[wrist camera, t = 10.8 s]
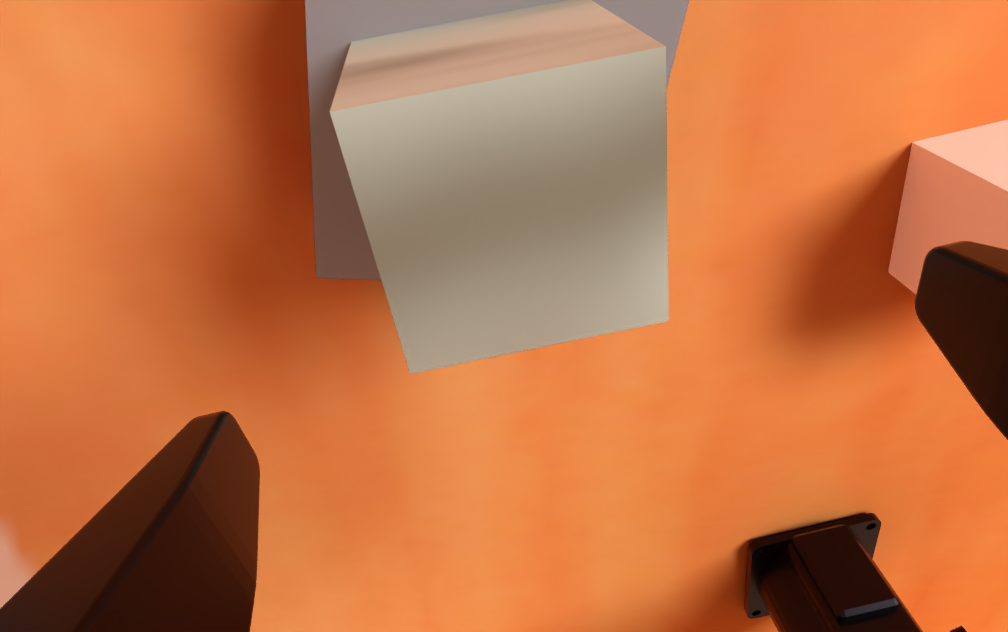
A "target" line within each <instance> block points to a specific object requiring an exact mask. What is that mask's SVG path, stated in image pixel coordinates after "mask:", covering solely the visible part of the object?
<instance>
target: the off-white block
mask: <svg viewBox="0 0 1008 632" xmlns="http://www.w3.org/2000/svg"><path fill="white" fill-rule="evenodd" d="M959 241H971V242H976V243H980V244H985V245H989V246H994V247H998V248H1003V249H1007V250H1008V120H1004V121H1000V122H996V123H992V124H987V125H983V126H979V127H975V128H970V129H966V130H962V131H958V132H954V133H949V134H945V135H941V136H937V137H932V138H928V139H924V140H920V141H915V142H912V146H911V152H910V157H909V163H908V168H907V173H906V179H905V184H904V190H903V195H902V200H901V206H900V211H899V216H898V222H897V227H896V233H895V238H894V243H893V249H892V254H891V259H890V265H889V270H888V273H889V274H891V275H892V276H893V277H894V278H896V279H897V280H898V281H899V282H901V283H902V284H903V285H904V286H906V287H907V288H908V289H909V290H911V291H912V292H913V293H914V294H916V293H917V289H918V285H919V280H920V276H921V272H922V267H923V263H924V259H925V256H926V255H927V253H928V252H929V251H930V250H931V249H933V248H934V247H937V246H941V245H946V244H950V243H954V242H959Z"/></svg>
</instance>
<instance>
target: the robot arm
mask: <svg viewBox="0 0 1008 632" xmlns="http://www.w3.org/2000/svg"><path fill="white" fill-rule="evenodd" d="M915 309H916V313H917V316H918V318H919V320H920V322H921V323H922V325H923V326H924V327H925V329H926V330H927V332H928V333H929V335H930V336H931V337H932V339H933V340H934V342H935V343H936V345H937V346H938V347H939V349H940V350H941V352H942V353H943V355H944V356H945V357H946V359H947V360H948V362H949V363H950V365H951V366H952V367H953V369H954V370H955V372H956V373H957V375H958V376H959V377H960V379H961V380H962V382H963V383H964V385H965V386H966V387H967V389H968V390H969V392H970V393H971V395H972V396H973V397H974V399H975V400H976V402H977V403H978V404H979V406H980V407H981V408H982V410H983V411H984V412H985V414H986V415H987V416H988V417H989V418H990V420H991V421H992V422H993V423H994V424H995V426H996V427H997V428H998V429H999V430H1000V432H1001V433H1002V434H1003V435H1004V436H1005V437H1006V439H1007V440H1008V250H1007V249H1003V248H998V247H994V246H989V245H985V244H980V243H976V242H971V241H959V242H954V243H950V244H946V245H941V246H937V247H934V248H933V249H931V250H930V251H929V252H928V253H927V255H926V256H925V259H924V263H923V267H922V272H921V276H920V280H919V285H918V289H917V293H916V298H915ZM259 485H260V469H259V463H258V459H257V456H256V454H255V452H254V450H253V448H252V447H251V445H250V443H249V442H248V440H247V438H246V437H245V435H244V433H243V431H242V430H241V428H240V426H239V425H238V423H237V421H236V419H235V418H234V417H233V416H232V415H231V414H230V413H228V412H225V411H221V412H216V413H212V414H208V415H203V416H199V417H196V418H194V419H192V420H191V421H190V422H189V423H188V424H187V425H186V426H185V427H184V428H183V429H182V430H181V431H180V432H179V433H178V434H177V435H176V436H175V437H174V438H173V439H172V440H171V441H170V442H169V443H168V444H167V445H166V446H165V447H164V448H163V449H162V450H161V451H160V452H159V453H158V454H157V455H156V456H155V457H154V458H153V459H151V460H150V461H149V462H148V463H147V464H146V465H145V466H144V467H143V468H142V469H141V470H140V471H139V472H138V473H137V474H136V475H135V476H134V477H133V478H132V479H131V480H130V481H129V482H128V483H127V484H126V485H125V486H124V487H123V488H122V489H121V490H120V491H119V492H118V493H117V494H116V495H115V496H114V497H113V498H112V499H111V500H110V501H109V502H108V503H107V504H106V505H105V506H104V507H103V508H102V509H101V510H100V511H99V512H98V513H97V514H96V515H95V516H94V517H93V518H92V519H91V520H90V521H89V522H88V523H87V524H86V525H85V526H84V527H83V528H82V529H81V530H80V531H79V532H78V533H77V534H76V535H75V536H74V537H73V538H72V539H70V540H69V541H68V542H67V543H66V544H65V545H64V546H63V547H62V548H61V549H60V550H59V551H58V552H57V553H56V554H55V555H54V556H53V557H52V558H51V559H50V560H49V561H48V562H47V563H46V564H45V565H44V566H43V567H42V568H41V569H40V570H39V571H38V572H37V573H36V574H35V575H34V576H33V577H32V578H31V579H30V580H29V581H28V582H27V583H26V584H25V585H24V586H23V587H22V588H21V589H20V590H19V591H18V592H17V593H16V594H15V595H14V596H13V597H12V598H11V599H10V600H9V601H8V602H7V603H6V604H5V605H4V606H3V607H2V608H1V609H0V632H250V626H251V619H252V612H253V605H254V597H255V589H256V578H257V556H258V520H259ZM880 527H881V521H880V520H879V519H878V517H877V516H876V515H875V514H873V513H869V514H864V515H860V516H855V517H851V518H847V519H843V520H838V521H834V522H830V523H826V524H821V525H817V526H813V527H809V528H804V529H800V530H796V531H792V532H787V533H783V534H779V535H775V536H770V537H766V538H762V539H758V540H755V541H753V542H752V543H751V544H750V545H749V547H748V559H747V574H746V589H745V603H744V609H745V612H746V614H747V616H748V617H749V618H758V617H762V616H767V615H770V616H771V618H772V620H773V622H774V624H775V626H776V628H777V630H778V632H923V631H922V630H921V628H920V627H919V625H918V624H917V623H916V621H915V620H914V618H913V617H912V615H911V614H910V613H909V611H908V610H907V608H906V607H905V605H904V604H903V603H902V601H901V600H900V598H899V597H898V595H897V594H896V592H895V591H894V590H893V588H892V587H891V585H890V584H889V582H888V581H887V580H886V578H885V577H884V575H883V574H882V572H881V571H880V570H879V568H878V567H877V565H876V564H875V562H874V561H873V560H872V558H873V554H874V550H875V546H876V542H877V538H878V534H879V530H880ZM950 632H966V630H965V629H964V628H963V627H962V626H960V627H958V628H955V629H953V630H951V631H950Z"/></svg>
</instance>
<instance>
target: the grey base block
mask: <svg viewBox="0 0 1008 632" xmlns="http://www.w3.org/2000/svg"><path fill="white" fill-rule="evenodd" d="M560 1H565V0H305V15H306V40H307V65H308V90H309V115H310V140H311V165H312V191H313V216H314V241H315V266H316V278H327V279H354V280H381V277H380V274H379V271H378V267H377V264H376V261H375V258H374V254H373V251H372V248H371V245H370V242H369V238H368V235H367V232H366V229H365V225H364V222H363V219H362V216H361V212H360V209H359V206H358V203H357V199H356V196H355V193H354V190H353V186H352V183H351V180H350V177H349V173H348V170H347V167H346V164H345V160H344V157H343V154H342V151H341V147H340V144H339V141H338V138H337V134H336V131H335V128H334V125H333V121H332V118H331V115H330V109H331V106H332V103H333V99H334V96H335V93H336V90H337V86H338V83H339V80H340V77H341V73H342V70H343V67H344V64H345V60H346V57H347V54H348V51H349V47H350V44H351V42H353V41H358V40H363V39H368V38H374V37H379V36H384V35H389V34H394V33H399V32H405V31H410V30H415V29H420V28H425V27H430V26H436V25H441V24H446V23H451V22H456V21H462V20H467V19H472V18H477V17H482V16H488V15H493V14H498V13H503V12H508V11H513V10H519V9H524V8H529V7H534V6H539V5H545V4H550V3H555V2H560ZM592 1H594V2H595V3H597V4H598V5H600V6H602V7H603V8H605V9H606V10H608V11H610V12H611V13H613V14H614V15H616V16H618V17H619V18H621V19H623V20H624V21H626V22H627V23H629V24H631V25H632V26H634V27H635V28H637V29H639V30H640V31H642V32H643V33H645V34H647V35H648V36H650V37H652V38H653V39H655V40H656V41H658V42H660V43H661V44H663V45H664V46H666V89H667V85H668V81H669V77H670V73H671V69H672V65H673V62H674V58H675V54H676V50H677V46H678V42H679V38H680V34H681V30H682V26H683V22H684V18H685V14H686V11H687V7H688V3H689V0H592Z"/></svg>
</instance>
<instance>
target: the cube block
mask: <svg viewBox="0 0 1008 632" xmlns="http://www.w3.org/2000/svg"><path fill="white" fill-rule="evenodd" d="M330 115H331V118H332V121H333V125H334V128H335V131H336V134H337V138H338V141H339V144H340V147H341V151H342V154H343V157H344V160H345V164H346V167H347V170H348V173H349V177H350V180H351V183H352V186H353V190H354V193H355V196H356V199H357V203H358V206H359V209H360V212H361V216H362V219H363V222H364V225H365V229H366V232H367V235H368V238H369V242H370V245H371V248H372V251H373V254H374V258H375V261H376V264H377V267H378V271H379V274H380V277H381V280H382V284H383V287H384V290H385V293H386V297H387V300H388V303H389V306H390V310H391V313H392V316H393V319H394V323H395V326H396V329H397V332H398V336H399V339H400V342H401V345H402V349H403V352H404V355H405V358H406V362H407V365H408V368H409V371H410V374H413V373H418V372H422V371H427V370H432V369H437V368H442V367H447V366H452V365H457V364H461V363H466V362H471V361H476V360H481V359H486V358H491V357H496V356H500V355H505V354H510V353H515V352H520V351H525V350H530V349H535V348H539V347H544V346H549V345H554V344H559V343H564V342H569V341H574V340H578V339H583V338H588V337H593V336H598V335H603V334H608V333H613V332H618V331H622V330H627V329H632V328H637V327H642V326H647V325H652V324H657V323H661V322H666V321H668V218H667V113H666V46H664V45H663V44H661V43H660V42H658V41H656V40H655V39H653V38H652V37H650V36H648V35H647V34H645V33H643V32H642V31H640V30H639V29H637V28H635V27H634V26H632V25H631V24H629V23H627V22H626V21H624V20H623V19H621V18H619V17H618V16H616V15H614V14H613V13H611V12H610V11H608V10H606V9H605V8H603V7H602V6H600V5H598V4H597V3H595V2H594V1H592V0H565V1H560V2H555V3H550V4H545V5H539V6H534V7H529V8H524V9H519V10H513V11H508V12H503V13H498V14H493V15H488V16H482V17H477V18H472V19H467V20H462V21H456V22H451V23H446V24H441V25H436V26H430V27H425V28H420V29H415V30H410V31H405V32H399V33H394V34H389V35H384V36H379V37H374V38H368V39H363V40H358V41H353V42H351V44H350V47H349V51H348V54H347V57H346V60H345V64H344V67H343V70H342V73H341V77H340V80H339V83H338V86H337V90H336V93H335V96H334V99H333V103H332V106H331V109H330Z"/></svg>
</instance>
